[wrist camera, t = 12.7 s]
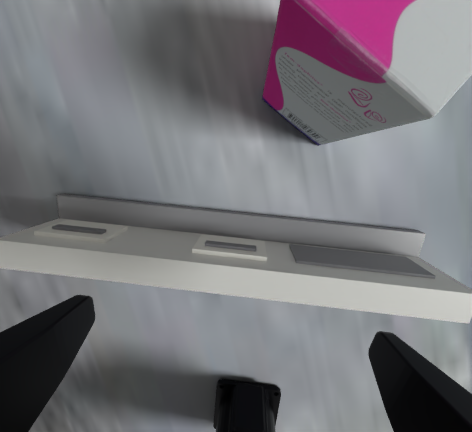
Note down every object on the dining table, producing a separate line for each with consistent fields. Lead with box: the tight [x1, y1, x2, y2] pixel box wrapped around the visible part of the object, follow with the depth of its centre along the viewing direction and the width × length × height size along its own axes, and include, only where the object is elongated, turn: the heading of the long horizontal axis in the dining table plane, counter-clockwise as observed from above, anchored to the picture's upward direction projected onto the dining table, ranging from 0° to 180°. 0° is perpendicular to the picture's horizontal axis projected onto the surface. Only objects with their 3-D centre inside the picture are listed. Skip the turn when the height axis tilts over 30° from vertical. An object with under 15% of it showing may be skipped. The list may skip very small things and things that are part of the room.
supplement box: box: [262, 0, 472, 146], centre depth 11 cm, size 6×6×12 cm
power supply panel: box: [0, 194, 472, 324], centre depth 17 cm, size 6×30×6 cm, turn 85°
